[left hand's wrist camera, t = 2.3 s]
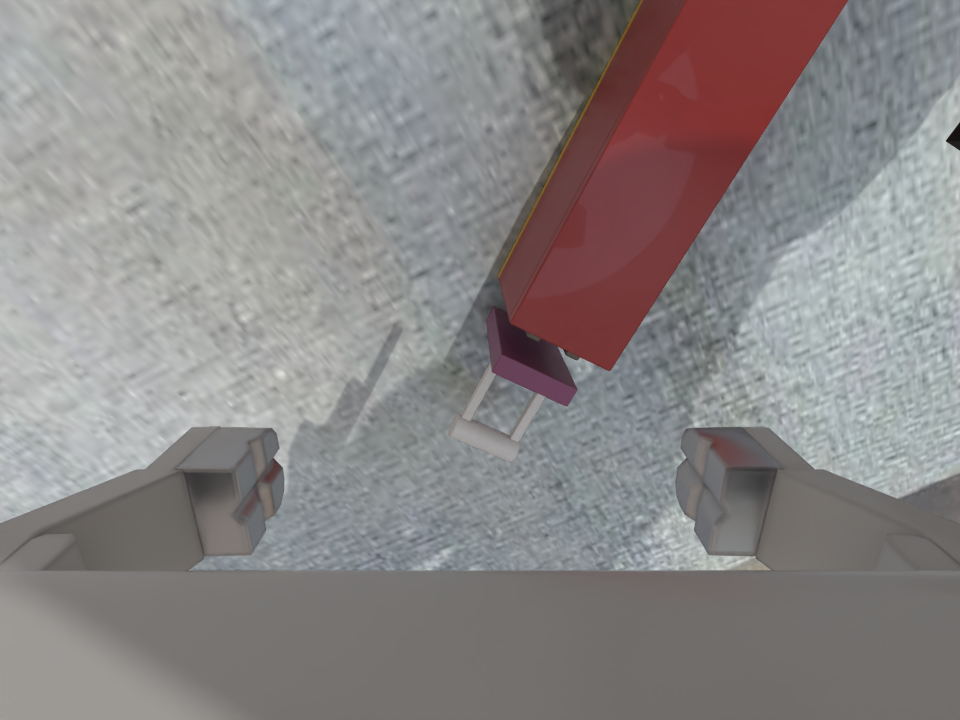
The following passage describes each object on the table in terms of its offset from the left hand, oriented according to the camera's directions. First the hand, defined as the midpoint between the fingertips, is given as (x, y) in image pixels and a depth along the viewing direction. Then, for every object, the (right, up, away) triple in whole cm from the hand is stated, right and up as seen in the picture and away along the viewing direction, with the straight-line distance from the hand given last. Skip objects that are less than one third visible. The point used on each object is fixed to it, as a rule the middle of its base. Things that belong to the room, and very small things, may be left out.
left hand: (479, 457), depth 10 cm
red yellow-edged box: (+8, +15, +23) cm, 29 cm away
